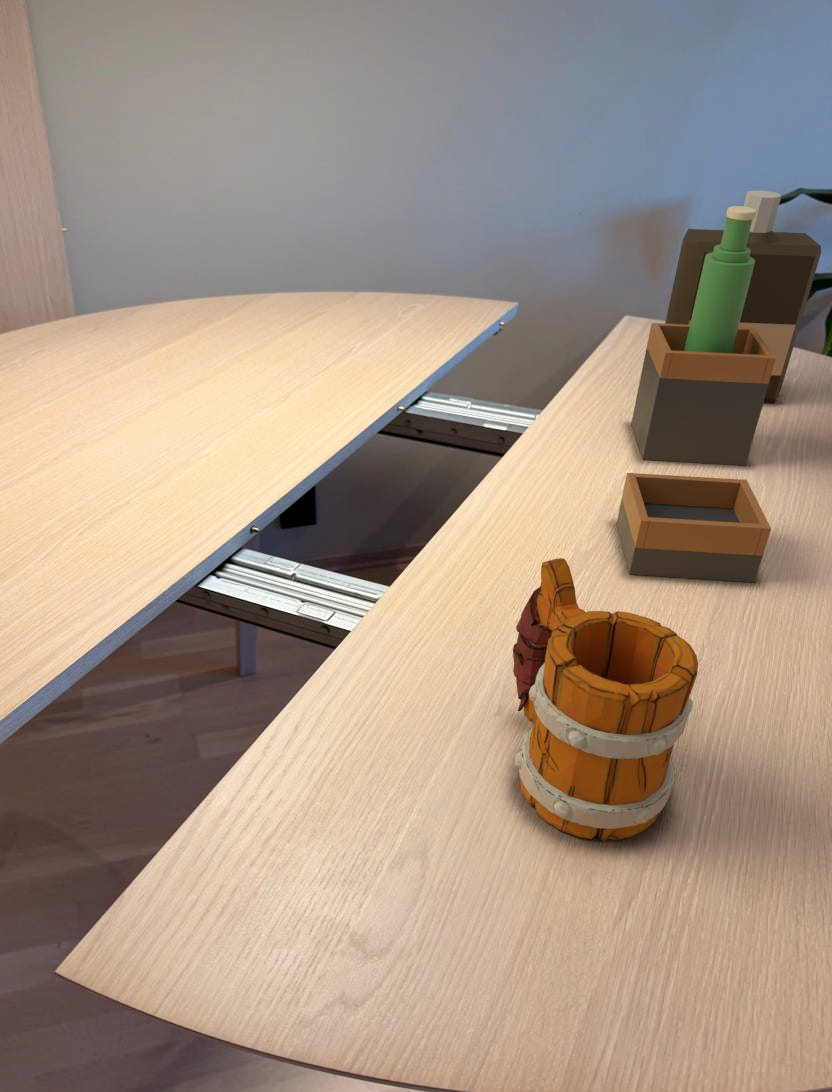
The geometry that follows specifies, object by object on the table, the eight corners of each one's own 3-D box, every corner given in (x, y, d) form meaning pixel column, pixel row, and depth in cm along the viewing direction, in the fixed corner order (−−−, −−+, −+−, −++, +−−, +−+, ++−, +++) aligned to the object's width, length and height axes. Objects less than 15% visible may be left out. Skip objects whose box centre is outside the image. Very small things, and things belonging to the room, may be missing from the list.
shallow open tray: (732, 531, 103) (746, 479, 99) (754, 582, 95) (771, 528, 91) (616, 523, 104) (626, 472, 100) (629, 574, 96) (640, 520, 92)
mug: (572, 867, 66) (611, 695, 57) (455, 718, 78) (472, 557, 69) (700, 821, 69) (756, 652, 61) (570, 686, 81) (600, 528, 73)
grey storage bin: (727, 430, 123) (754, 327, 116) (745, 465, 115) (776, 358, 108) (630, 424, 124) (651, 322, 116) (642, 459, 116) (665, 352, 108)
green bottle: (722, 358, 116) (761, 204, 106) (732, 374, 112) (773, 216, 102) (677, 355, 116) (712, 202, 106) (685, 372, 112) (722, 214, 102)
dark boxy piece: (649, 377, 137) (690, 184, 122) (765, 382, 137) (820, 188, 122) (661, 399, 131) (705, 199, 116) (782, 405, 130) (842, 204, 115)
